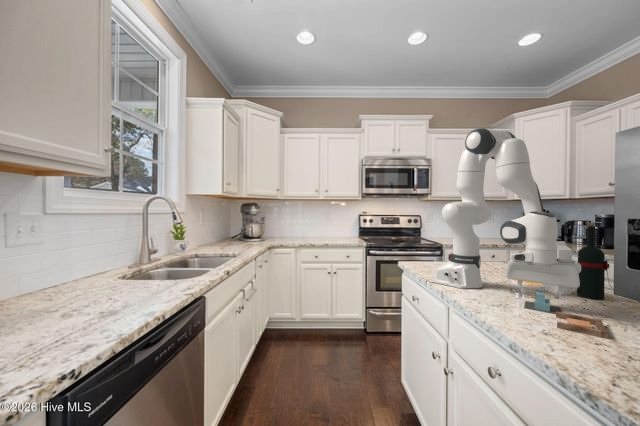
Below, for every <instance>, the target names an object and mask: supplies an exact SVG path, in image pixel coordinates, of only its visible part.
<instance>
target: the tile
mask: <svg viewBox="0 0 640 426" xmlns="http://www.w3.org/2000/svg"><path fill="white" fill-rule="evenodd" d="M565 320H566V322H565V323H568V324H573V325H578V326H583V327H588V328H592V329H593V327H592V326H593V325H591V324H590V323H589V322H588V321H582V320H576V319H571V318H566V319H565Z"/></svg>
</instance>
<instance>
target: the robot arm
mask: <svg viewBox="0 0 640 426" xmlns="http://www.w3.org/2000/svg"><path fill="white" fill-rule="evenodd" d="M464 146H465V149H464V150H463V151H462V153H461V155H460V158H459V162H458V166H457V175H456V184H455V186H456V190H457V192H458V193H459V195H460V197H461V201H453V202H448V203H446V204H445V205H444V206H443V207H442V209H441V217H442V220H443V221H444V223H446V224H447V225H448V228H449V229H450V232H451V236H452V252H450V253H449V254H448V255H447V259H448V260H446V262H444V263H443V264H441V265H439V266H438V267H437V268H436V270H435V274H434V275H433V276H431V277H430V278H429V279H430V280H429V281H430V282H431V283H435V284H440V285H443V286H444V285H445V286H449V287H452V288H457V289H463V290H464V289H481V288H483V287H484V284H483V280H482V277H481V266H482V265H481V264H482V263H481V262H482V259H481V254H480V247H481V246H480V245H481V244H480V242H481V241H480V238H479V236H478V235H476V233H475V231H474V228H473V227H474V226H475V225H476V226H479V225H482V224H485V223H486V222H488V221H489V220H490V218H491V216H492V210H491V209H490V207H489V206H488V205H487V202H486V199H485V194H484V193H485V192H484V185H485V174H486V166H487V165H486V164H487V162H488V160H489V159H492V160H495V177H496V180H497V182H498V184H499V185H500V186H501V187H503V188H504V189H506V190H508V191H510V192H512V193H513V194H515V195H517V197H519V199H520V200H521V203H522V208H523V212H524V215H523V216H521V217H519V218H518V217H517V218H515V219H510V220H506V221H504V222H503V224H501V226H500V229H499V233H500V234H499V236H500V237H501V240H503V241H504V242H505V243H506V244H509V245H513V246H516V245H518V246H525V250H523V251H522V250H521V251H515V252H512V253H511V254H510V260H509V261H508V263H507V266H506V271H505V276H506V278H507V279H508V280H514V281H517V282H516V283H517V285H518V286H519V288H520V292H521V294H527V287H524V286H523V282H527V283H528V282H529V283H533V284H534V283H535V284H543V285H545V284H548V285H555V286H560V289H561V290H560V291H559V292H558V293H556V292H555V294H554V299H556V300H557V299H558V300H561V299H562V295H561V294H562V293H563V292H564V291H565V287H569V288H571V289H577V288H578V287H579V286H580V280H579V273H580V272H581V264H580V263H578V261H576V260H575V259H572V260H566V259H558V258H557V246H556V241H558V238H559V233H558V232H559V229H558V221H557V220H558V219H557V218H556V216H555V215H554V214H553V213H549V212H545V211H544V205H543V201H542V196H541V193H540V189H539V186H538V184H537V182H536V181H535V179H534V177H533V174H532V171H531V162H530V156H529V151H528V148H527V145H526V142H525V140H523V139H521V138H517V137H516V136H515V135H514V134H513V133H511V132H509V131H506V130H501V129H496V128H484V127H482V128H476V129H473V130H471V131H470V132H469V133H468V134H467V136H466V138H465V141H464ZM557 261H558V263H557Z"/></svg>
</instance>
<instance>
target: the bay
mask: <svg viewBox="0 0 640 426" xmlns="http://www.w3.org/2000/svg"><path fill="white" fill-rule="evenodd" d="M555 318H557V319H562V320H566V318H571V319H576V320H582V321H588V322H589V323H590V325H591V326H595V327H596V328H593V327H592V328H588V327H583V326H578V325H573V324H568V323H567V322H562V321H558V320H557V321H556V329H560V330H565V331H569V332H572V333H573V332H574V333H578V334H583V335H587V336H592V337H596V338H600V339H605V340H608V335H609V334H608V333H609V332H608V331H607V329H606V327H605V325H604V323H603V321H602V319H600V318H599V319H598V318H594V317H593V318H592V317H587V316H583V315H577V314H572V313H567V312H566V313H565V312H562V311H561V312H556V314H555Z"/></svg>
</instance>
